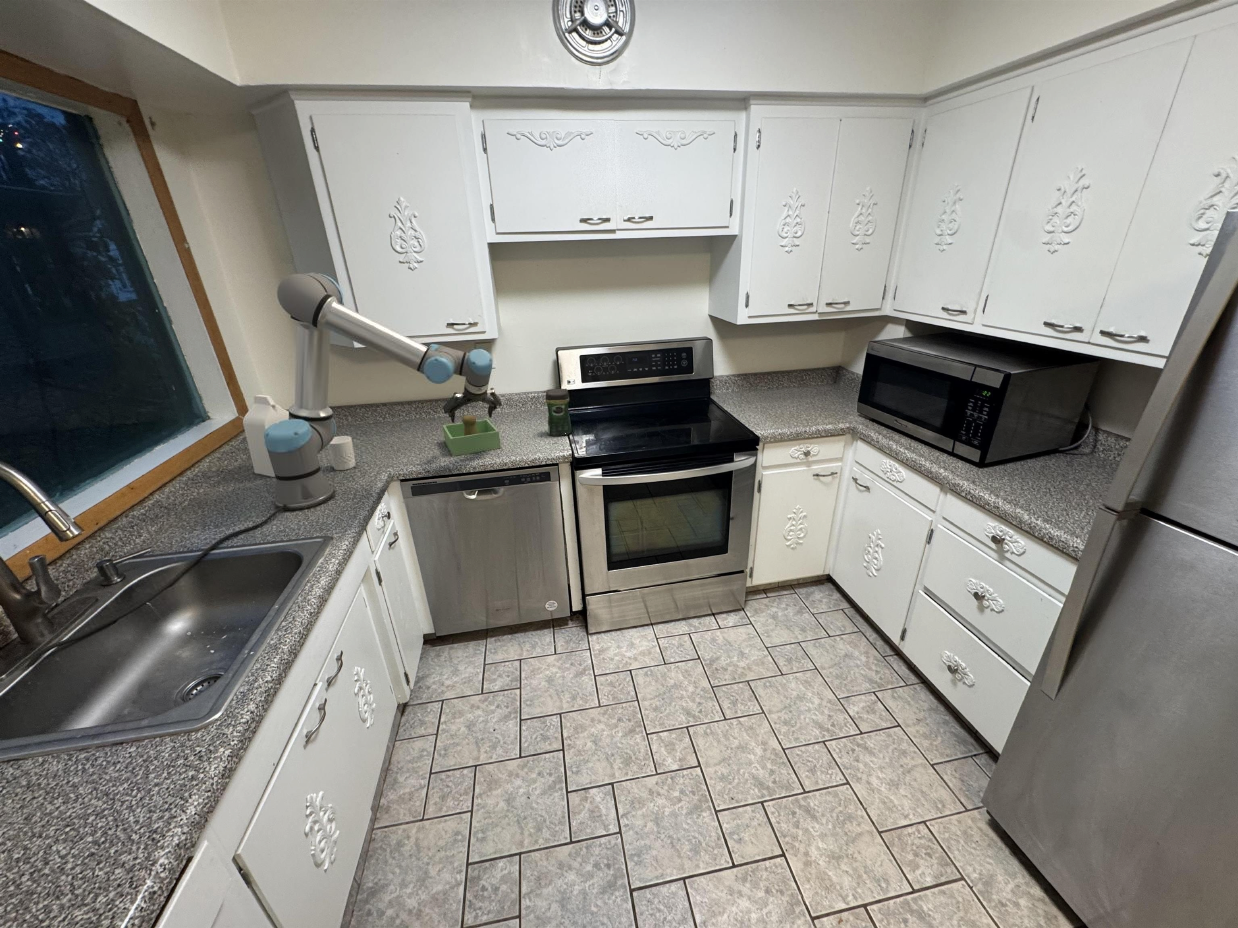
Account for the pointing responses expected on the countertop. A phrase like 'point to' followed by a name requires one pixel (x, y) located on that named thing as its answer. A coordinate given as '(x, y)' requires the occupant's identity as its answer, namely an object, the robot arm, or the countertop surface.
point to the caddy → (471, 438)
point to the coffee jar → (558, 412)
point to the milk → (262, 431)
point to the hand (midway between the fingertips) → (471, 417)
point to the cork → (469, 425)
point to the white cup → (341, 453)
